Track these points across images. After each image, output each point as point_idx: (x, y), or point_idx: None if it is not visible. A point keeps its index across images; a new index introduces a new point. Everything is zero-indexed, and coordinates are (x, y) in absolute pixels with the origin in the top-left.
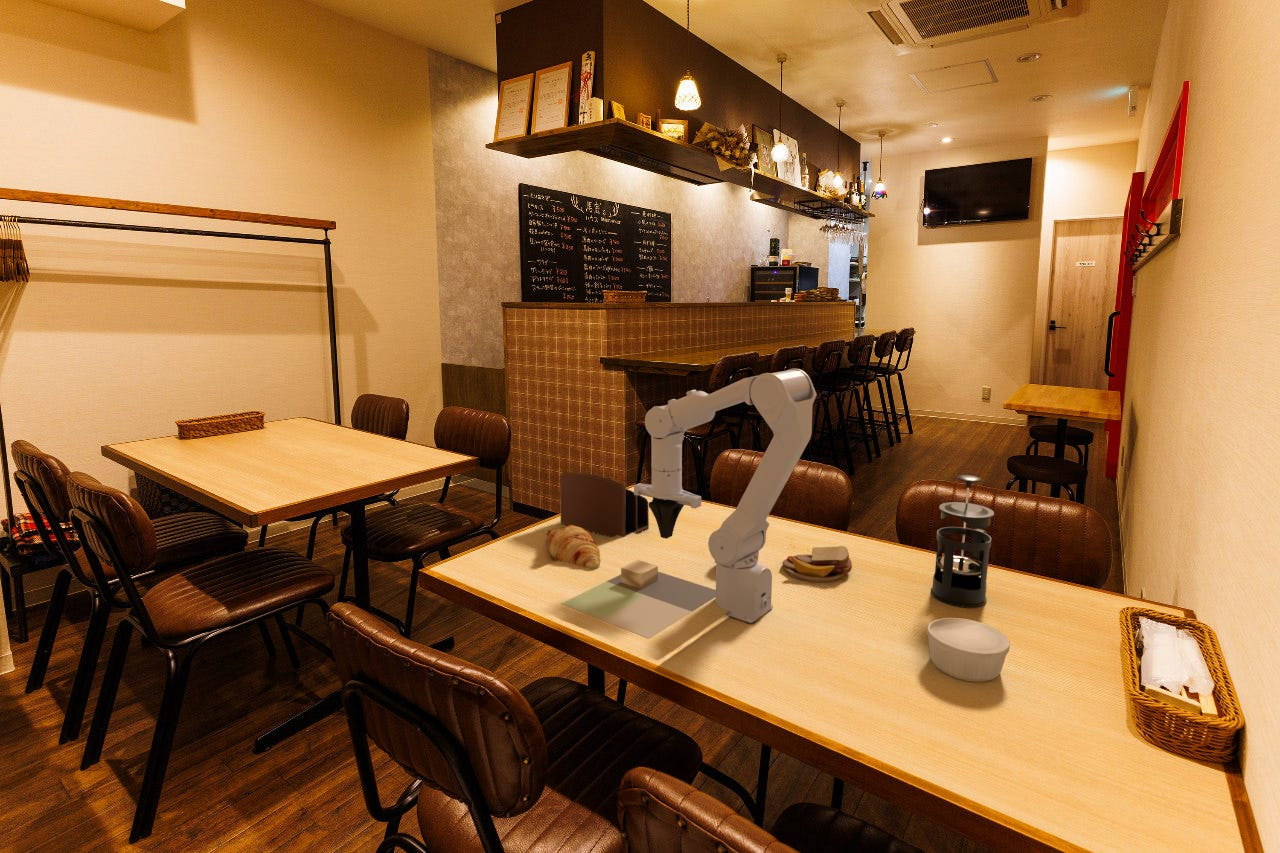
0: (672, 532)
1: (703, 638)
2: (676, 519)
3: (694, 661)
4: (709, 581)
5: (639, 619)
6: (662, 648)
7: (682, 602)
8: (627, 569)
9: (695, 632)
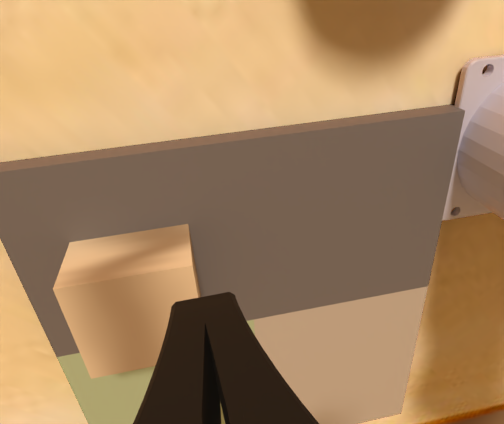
0: (243, 316)
1: (486, 316)
2: (305, 410)
3: (499, 373)
4: (332, 7)
5: (332, 393)
6: (424, 390)
7: (375, 271)
8: (127, 370)
9: (459, 313)
